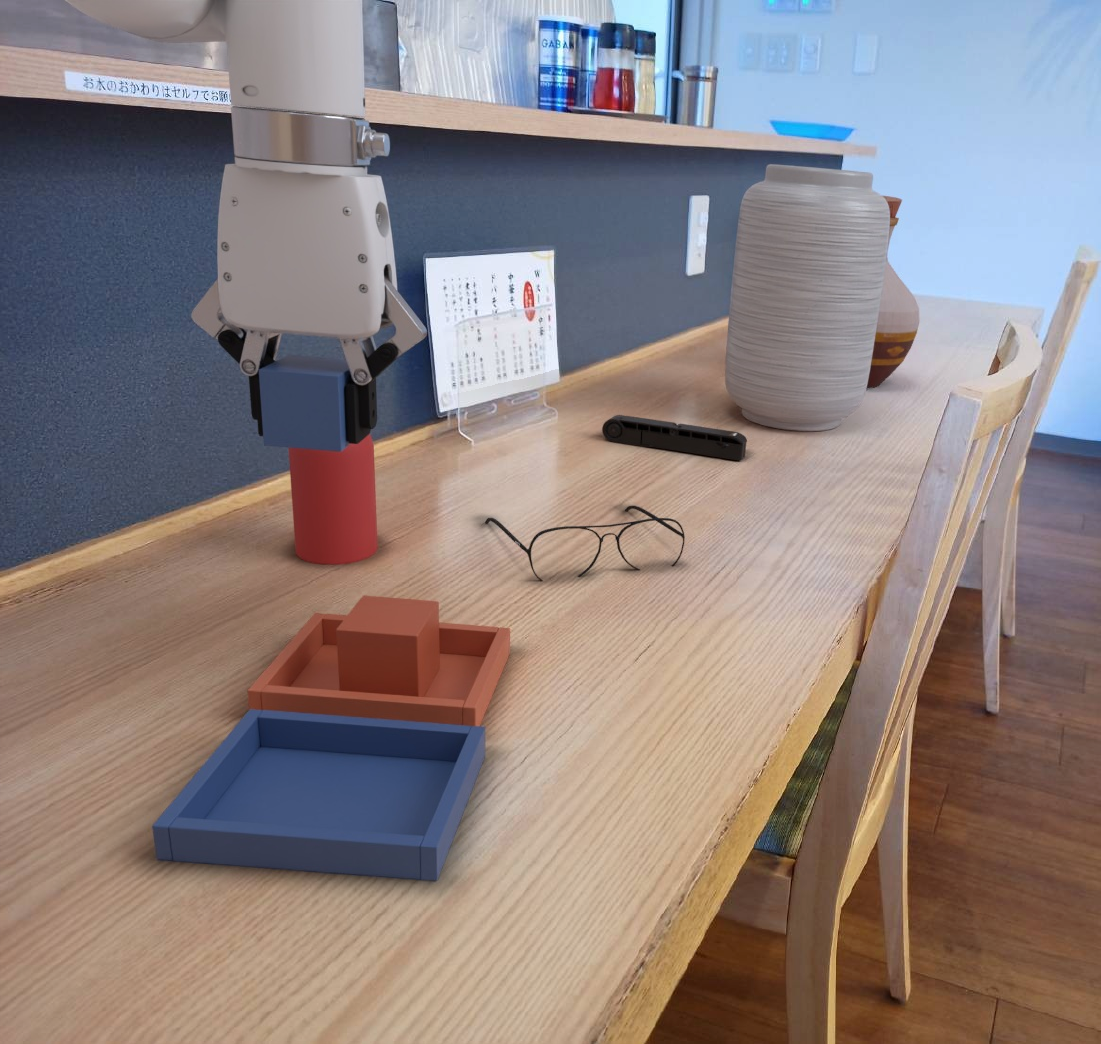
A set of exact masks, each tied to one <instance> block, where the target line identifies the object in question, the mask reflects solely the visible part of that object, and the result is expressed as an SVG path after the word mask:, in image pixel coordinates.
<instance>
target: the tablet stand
mask: <svg viewBox="0 0 1101 1044" xmlns="http://www.w3.org/2000/svg"><path fill="white" fill-rule="evenodd" d="M601 431H602V432H601V433H602V435H603V437H604V438H605V439H606V440H607V441H608V442H611V443H618V444H619V443H620V444H625V445H631V446H639V447H643V448H644V447H645V448H649V447H650V448H656V449H662V450H669V451H676V452H681V453H688V454H693V455H694V454H695V455H700V456H707V457H713V458H719V459H720V458H721V459H726V460H733V461H743V459H744V458H746V451H747V443H748V440H747V437H746V436H745V435H744V434H743V433H740V432H739V431H738V432H737V431H732V430H726V429H719V428H712V427H706V426H701V425H692V424H686V423H678V424H677V423H676V422H674V421H667V420H660V419H653V418H645V417H638V416H631V415H625V414H624V415H623V414H616V415H613V416H612V417H611V418H609V419H607V420H606V421H604V423H603V424H602V427H601Z"/></svg>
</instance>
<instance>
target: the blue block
mask: <svg viewBox="0 0 1101 1044" xmlns="http://www.w3.org/2000/svg"><path fill="white" fill-rule="evenodd" d="M259 382H260V396H261V410H262V425H263V436H262V437H263V446H266V447H276V448H277V447H278V448H279V447H280V448H301V449H313V450H325V451H338V452H341V451H343V450H344V449H345V448H346V447H347V446H349V445H350V443H349V442H348V441H346V426H345V400H344V387H345V385H347V384H348V383H350V371H349V367H348V364H347V361H346V358H335V357H324V356H323V357H322V356H311V355H298V354H288V355H285V356H284V357H281V358H280V359H276V360H275V362H273V363H271V364H269V365H267V366H265V367H263V368H261V369H259Z"/></svg>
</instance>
